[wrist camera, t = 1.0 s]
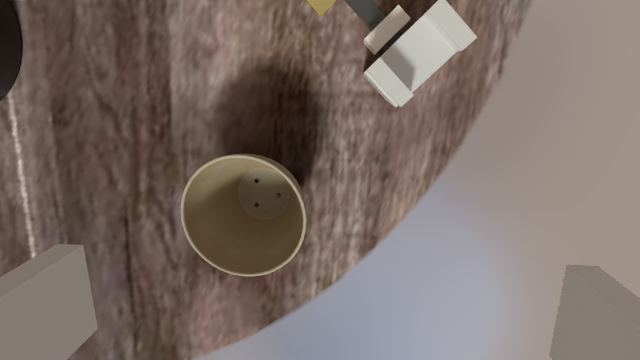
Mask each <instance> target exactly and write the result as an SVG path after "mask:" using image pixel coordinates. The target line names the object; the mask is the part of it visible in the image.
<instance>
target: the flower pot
mask: <svg viewBox="0 0 640 360" xmlns="http://www.w3.org/2000/svg"><path fill="white" fill-rule="evenodd" d="M255 180H257V183H256V182H255ZM277 193H280V194H277ZM257 204H259V205H258V207H257ZM181 220H182V225H183V228H184V231H185V234H186V236H187V238H188V240H189V242H190V244H191V245H192V247H193V248H194V249H195V250H196V252H197V253H198V254H199V255H200V256H201V257H202V258H203V259H205V260H206V261H207V262H208V263H210V264H211V265H213V266H214V267H216V268H218V269H220V270H222V271H224V272H227V273H230V274H234V275H239V276H259V275H264V274H268V273H271V272H273V271H275V270H277V269H279V268H281V267H283V266H284V265H285V264H287V263H288V262H289V261H290V260H291V259H292V258H293V257H294V256H295V254H296V253H297V251H298V250H299V248H300V246H301V244H302V242H303V239H304V236H305V231H306V224H307V212H306V204H305V199H304V196H303V193H302V190H301V188H300V186H299V184H298V182H297V181H296V179H295V178H294V176H293V175H292V174H291V173H290V172H289V171H288V170H287V169H286V168H285V167H283V166H282V165H281V164H279V163H278V162H276V161H274V160H272V159H270V158H267V157H264V156H260V155H255V154H231V155H226V156H222V157H218V158H216V159H213V160H211V161H209V162H207V163H206V164H204V165H203V166H202V167H200V168H199V169H198V170H197V171H196V172H195V173H194V174H193V175H192V177H191V178H190V179H189V181H188V183H187V185H186V187H185V189H184V192H183V195H182V199H181Z"/></svg>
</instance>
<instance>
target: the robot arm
mask: <svg viewBox="0 0 640 360" xmlns="http://www.w3.org/2000/svg"><path fill="white" fill-rule="evenodd" d="M20 59H21V39H20V32H19V27H18V23H17V19H16V16H15V13H14V11H13V8H12V6H11V3H10V1H9V0H0V101H1V100H2V99H3V98H4V97H5V96H6V95H7V93H8V92H9V91H10V89H11V88H12V86H13V84H14V82H15V79H16V77H17V74H18V70H19V66H20ZM97 329H98V328H97V323H96V317H95V311H94V305H93V300H92V294H91V288H90V282H89V276H88V271H87V265H86V259H85V253H84V248H83V245H66V244H57V245H55V246H54V247H52V248H50V249H48V250H47V251H45V252H43V253H41V254H40V255H38V256H36V257H34V258H33V259H31V260H29V261H27V262H26V263H24V264H22V265H20V266H19V267H17V268H15V269H13V270H12V271H10V272H8V273H6V274H5V275H3V276H1V277H0V360H67V359H68V358H69V357H70V356H71V355H72V354H73V353H74V352H75V351H76V350H77V349H78V348H79V347H80V346H81V345H82V344H83V343H84V342H85V341H86V340H87V339H88V338H89V337H90V336H91V335H92V334H93V333H94V332H95V331H96V330H97ZM550 357H551V358H552V360H640V298H638V297H637V296H636V295H635V294H633V293H632V292H631V291H629V290H628V289H627V288H625V287H624V286H623V285H622V284H620V283H619V282H618V281H616V280H615V279H614V278H612V277H611V276H610V275H609V274H607V273H606V272H605V271H604V270H602V269H601V268H600V267H598V266H583V265H567V266H566V271H565V276H564V282H563V287H562V292H561V297H560V302H559V307H558V313H557V318H556V323H555V328H554V333H553V339H552V344H551V349H550Z"/></svg>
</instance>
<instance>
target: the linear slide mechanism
mask: <svg viewBox="0 0 640 360" xmlns="http://www.w3.org/2000/svg"><path fill="white" fill-rule="evenodd" d="M344 1H345V2H346V3H347V4H348V5H349V6H350V7H351V8H352V9H353V11H354V12H355V13H356V14H357V15H358V16H359V17H360V18H361V20H362V21H363V22H364V23H365V24H366V25H367V26H368V27H369V29H370V30H371V31H372V32H371V33H370V34H369V35H368V36H367V37H366V38H365V39H364V44H365V45H366V46H367V47H368V49H369V50H370V51H371V52H372V53H373V54H374V55H375V54H376V53H377V52H378V51H379V50H380V49H381V48H382V47H383V46H384V45H385V47H386V48H387V49H388V50H387V51H386V52H385V53H384V54H383V55H382V56H381V57H379V58H378V59H377V60H376V61H375V62H374V63H373V64H372V65H371V66H370V67H369V68H368V69H367V70H366V71H365V72H364V73H363V75H364V77H365V78H366V79H367V80H368V81H369V82H370V83H371V84H372V85H373V86H374V87H375V89H376V90H377V91H378V92H379V93H380V94H381V95H382V96H383V97H384V98H385V100H386V101H388V102H389V103H391V104H392V105H393V106H395V107H397V106H398V105H399V106H400V107H402V106H403V105H404V104H405V103H406V102H407V101H408V100H409V99H410V98H411V97H412V96H414V95H413V94H412V92H413V91H414V90H416V89H417V88H418V87H419V86H420V85H421V84H422V83H423V82H424V81H425V80H426V79H427V78H429V77H430V76H431V75H432V74H433V73H434V72H435V71H436V70H437V69H438V68H439V67H441V66H442V65H443V64H444V63H445V62H446V61H447V60H448V59H449V58H450V57H451V56H453V55H454V54H455V53H456V52H459V51H462V50H464V49H465V48H466V47H467V46H468V45H469V44H470V43H472V42H473V41H474V40H475V39H476V38H477V36H476V35H475V34H474V33H473V32H472V31H471V29H470V28H469V27H468V26H467V25H466V23H465V22H464V21H463V20H462V19H461V18H460V16H459V15H458V14H457V13H456V12H455V11H454V9H453V8H452V7H451V6H450V5H449V4H448V2H447V1H446V0H438V1H437V2H436V3H435V4H434V5H433V6H432V7H431V8H430V9H429V10H428V11H427V12H426V13H425V14H424V15H423V16H422V17H421V18H420V19H419V20H418V21H417V22H416V23H415V24H414V25H413V26H411V27H410V28H409V29H408V30H407V31H406V32H405V33H404V34H403V35H402V34H401V32H400V30H401V29H402V28H403V27H404V26H405V25H406V24H407V23H408V21H409V20H410V19H411V18H410V17H409V16H408V15H407V14H406V12H405V11H404V10H403V9H402V8H401V7H400V6H399V5H398V6H397V7H396V8H395V9H394V10H393V11H392V12H391V13H390V14H389V15H388V16H387V17H386V15H385V14H384V13H383V12H382V11H381V10H380V9H379V8H378V6H377V5H376V4H375V3H374V2H373V1H372V0H344Z"/></svg>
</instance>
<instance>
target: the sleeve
mask: <svg viewBox="0 0 640 360" xmlns="http://www.w3.org/2000/svg"><path fill="white" fill-rule="evenodd" d="M307 1H308V3H309V4H310V5H311V6H312V7H313V8H314V9H315V10H316V11H317V12H318V14H319V15H320V16H322V15H323V14H324V13H325V12H326V11H327V9H328V8H329V7H330V6H331V5H332V4H333V3H334V2H335V1H336V0H307Z"/></svg>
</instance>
